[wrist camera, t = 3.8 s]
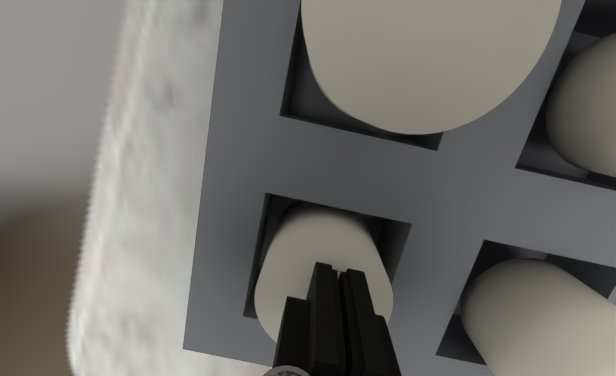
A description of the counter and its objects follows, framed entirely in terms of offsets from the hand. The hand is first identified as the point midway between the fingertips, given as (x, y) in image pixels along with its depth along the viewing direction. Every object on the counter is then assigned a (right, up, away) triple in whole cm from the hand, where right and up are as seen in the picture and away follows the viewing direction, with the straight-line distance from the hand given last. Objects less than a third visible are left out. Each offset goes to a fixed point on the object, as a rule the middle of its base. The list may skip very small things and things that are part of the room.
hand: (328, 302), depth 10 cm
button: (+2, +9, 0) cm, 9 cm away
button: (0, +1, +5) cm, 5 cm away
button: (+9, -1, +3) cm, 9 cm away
